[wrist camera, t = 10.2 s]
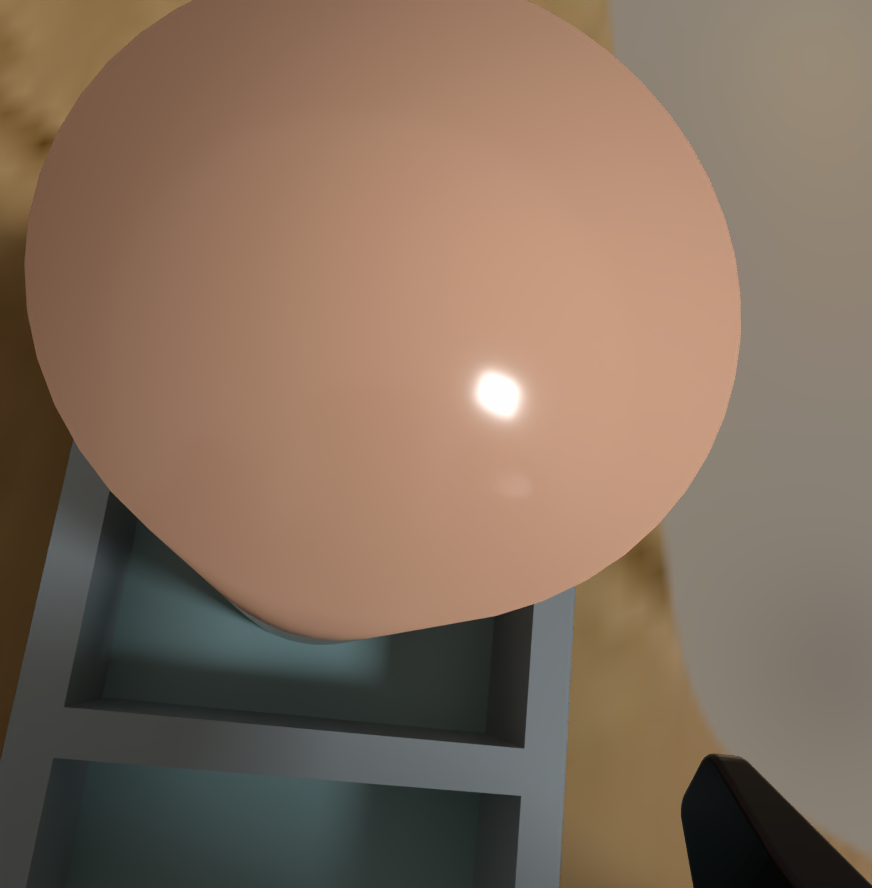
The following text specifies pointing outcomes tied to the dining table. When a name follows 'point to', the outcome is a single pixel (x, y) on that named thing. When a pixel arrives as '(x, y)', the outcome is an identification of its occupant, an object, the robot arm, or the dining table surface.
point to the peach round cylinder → (382, 305)
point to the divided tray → (269, 734)
